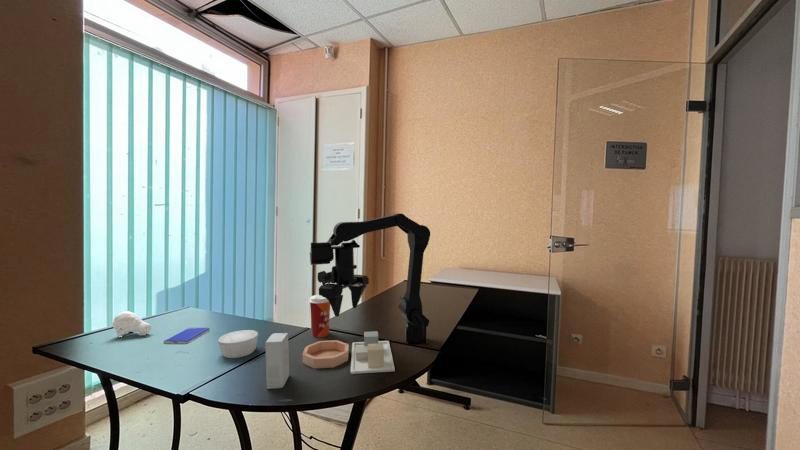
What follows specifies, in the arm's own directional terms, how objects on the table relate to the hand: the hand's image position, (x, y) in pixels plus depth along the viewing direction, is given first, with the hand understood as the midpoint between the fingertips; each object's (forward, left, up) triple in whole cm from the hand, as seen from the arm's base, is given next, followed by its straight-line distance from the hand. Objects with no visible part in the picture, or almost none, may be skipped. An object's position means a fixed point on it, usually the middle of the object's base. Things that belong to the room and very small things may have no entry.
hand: (346, 312), depth 103 cm
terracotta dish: (+6, +4, -13) cm, 15 cm away
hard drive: (+57, -20, -14) cm, 62 cm away
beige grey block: (-5, +5, -12) cm, 14 cm away
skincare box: (+17, +17, -13) cm, 27 cm away
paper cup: (+10, -15, -13) cm, 22 cm away
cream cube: (-9, +10, -12) cm, 18 cm away
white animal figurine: (+77, -24, -13) cm, 82 cm away
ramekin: (+34, -4, -13) cm, 36 cm away
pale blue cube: (-8, 0, -12) cm, 14 cm away
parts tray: (-8, +5, -13) cm, 16 cm away
